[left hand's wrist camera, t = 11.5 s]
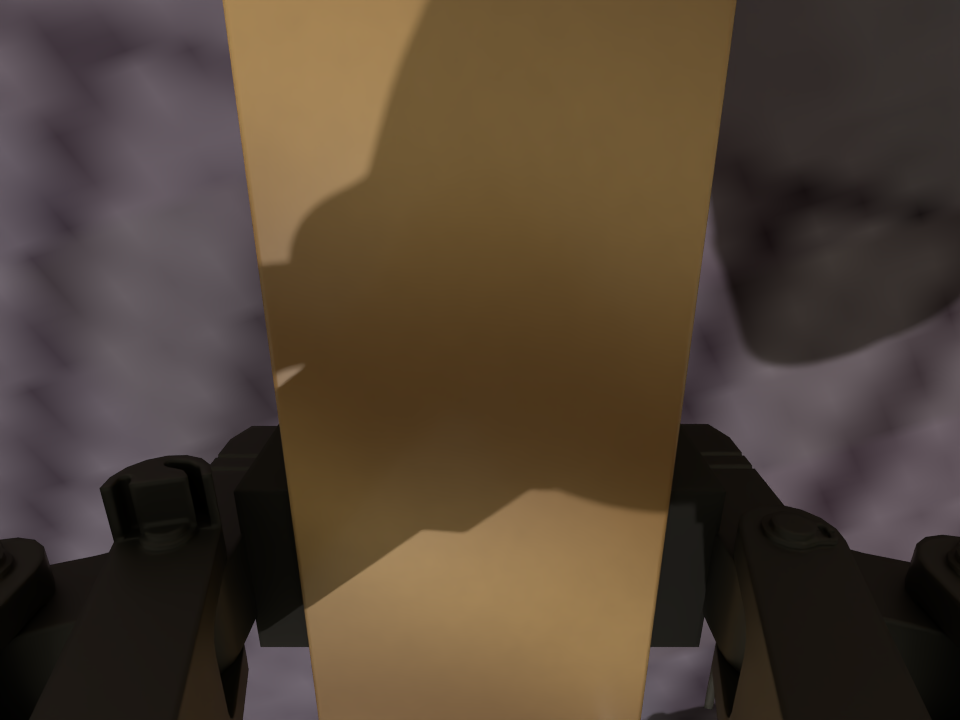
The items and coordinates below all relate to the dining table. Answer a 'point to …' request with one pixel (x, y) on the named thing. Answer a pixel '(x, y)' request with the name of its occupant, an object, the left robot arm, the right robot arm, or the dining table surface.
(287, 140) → the bar
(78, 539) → the dining table surface
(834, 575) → the left robot arm
